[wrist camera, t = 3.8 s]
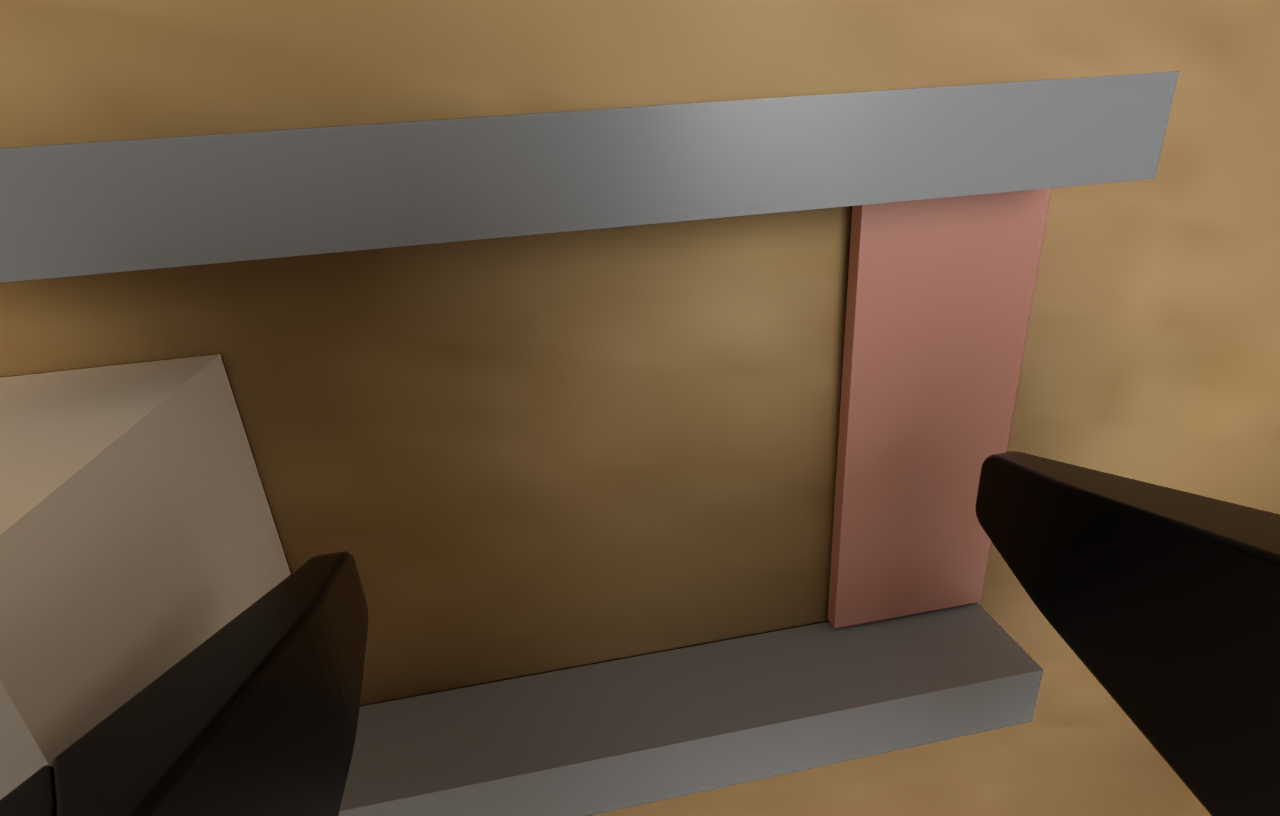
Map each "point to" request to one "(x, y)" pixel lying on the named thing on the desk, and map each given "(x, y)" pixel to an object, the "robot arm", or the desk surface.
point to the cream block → (118, 541)
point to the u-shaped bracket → (869, 411)
